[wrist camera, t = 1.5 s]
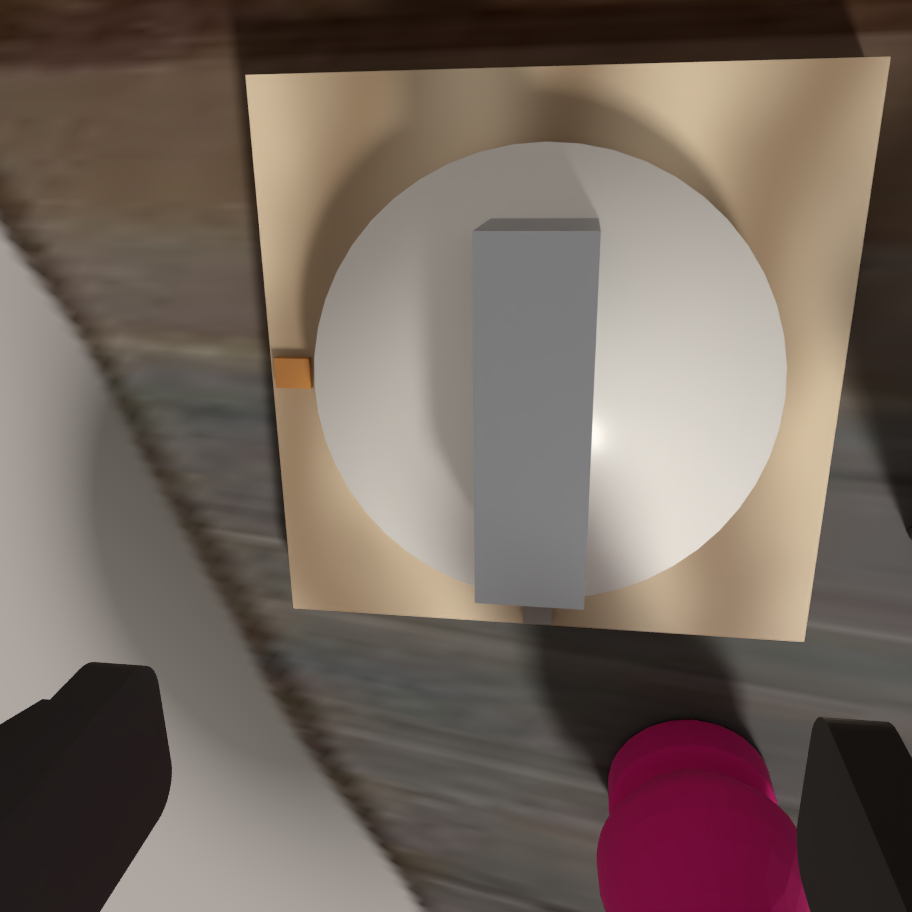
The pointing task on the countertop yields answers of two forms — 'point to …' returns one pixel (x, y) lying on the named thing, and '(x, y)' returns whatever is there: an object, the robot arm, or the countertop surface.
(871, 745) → the robot arm
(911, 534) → the small box
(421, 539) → the dial
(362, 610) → the dial base
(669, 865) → the pepper mill
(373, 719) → the countertop surface
